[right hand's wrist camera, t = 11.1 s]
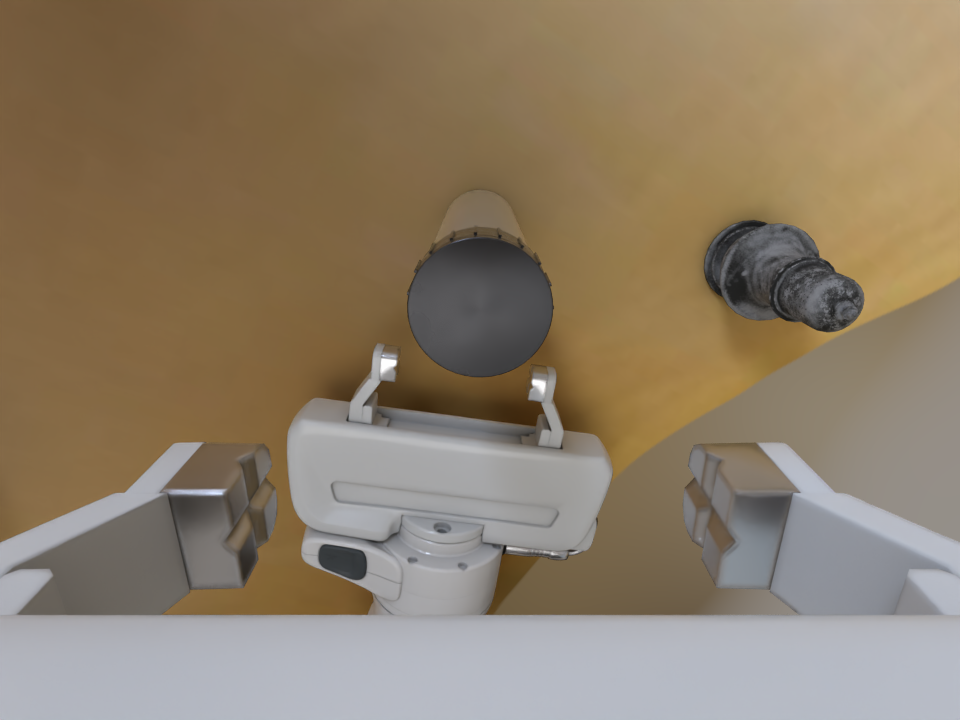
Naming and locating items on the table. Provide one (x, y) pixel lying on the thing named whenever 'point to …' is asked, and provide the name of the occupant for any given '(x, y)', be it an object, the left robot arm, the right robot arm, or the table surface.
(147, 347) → the table surface
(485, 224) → the grey cylindrical piece
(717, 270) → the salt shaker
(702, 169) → the table surface
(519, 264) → the lid
